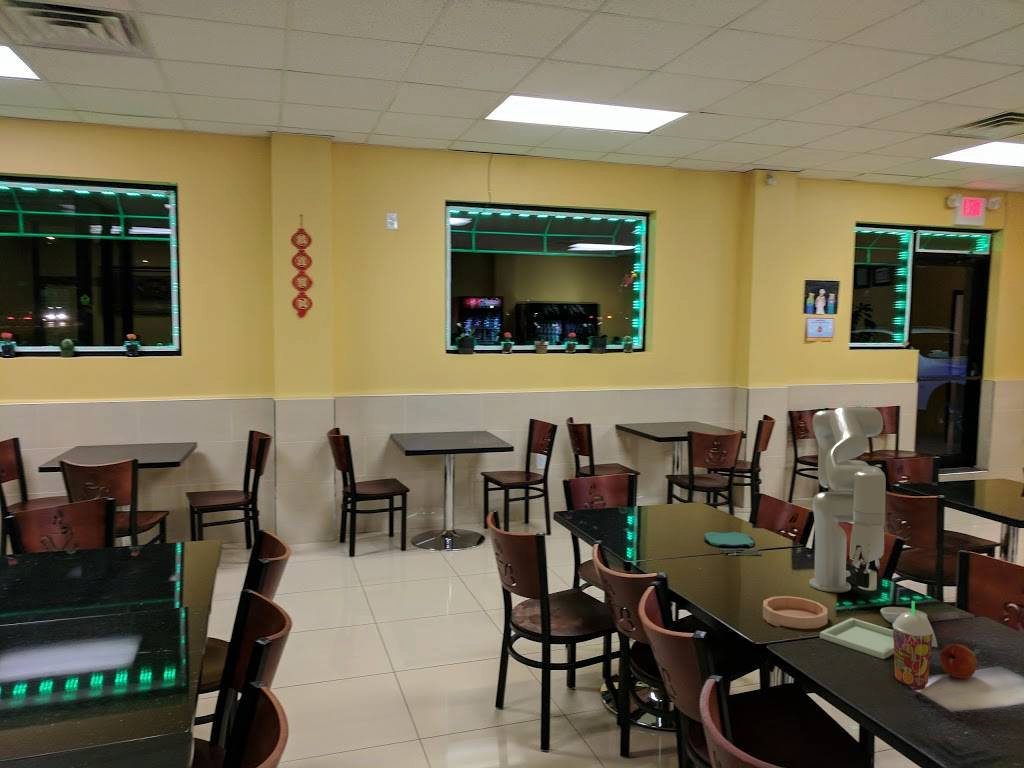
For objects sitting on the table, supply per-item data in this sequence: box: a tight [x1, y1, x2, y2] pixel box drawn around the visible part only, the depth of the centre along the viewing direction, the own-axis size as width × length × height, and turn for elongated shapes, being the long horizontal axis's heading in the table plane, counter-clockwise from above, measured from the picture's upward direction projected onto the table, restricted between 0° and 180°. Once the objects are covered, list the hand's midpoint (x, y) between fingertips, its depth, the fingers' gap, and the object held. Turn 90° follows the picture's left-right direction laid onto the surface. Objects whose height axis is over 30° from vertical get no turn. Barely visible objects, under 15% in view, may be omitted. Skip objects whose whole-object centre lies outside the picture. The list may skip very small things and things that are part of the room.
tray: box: [819, 617, 894, 660], centre depth 192 cm, size 17×17×2 cm
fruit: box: [939, 643, 978, 680], centre depth 172 cm, size 8×8×8 cm
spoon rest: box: [880, 606, 939, 648], centre depth 199 cm, size 24×12×7 cm, turn 171°
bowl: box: [762, 595, 829, 630], centre depth 208 cm, size 17×17×4 cm
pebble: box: [857, 569, 878, 591], centre depth 191 cm, size 4×4×4 cm
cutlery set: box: [703, 531, 762, 557], centre depth 288 cm, size 20×30×2 cm, turn 176°
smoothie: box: [892, 600, 934, 691], centre depth 168 cm, size 8×8×20 cm
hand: (867, 583), depth 191 cm, fingers closed on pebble, 4 cm apart
